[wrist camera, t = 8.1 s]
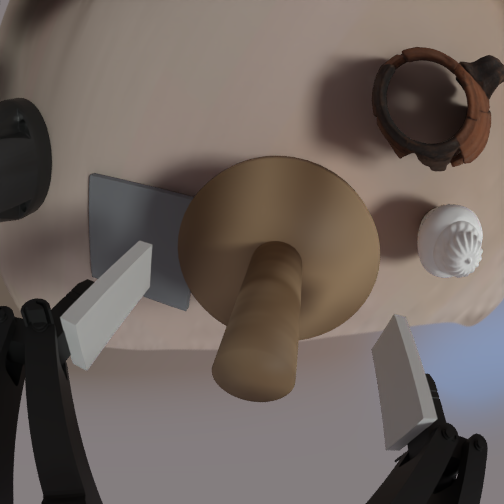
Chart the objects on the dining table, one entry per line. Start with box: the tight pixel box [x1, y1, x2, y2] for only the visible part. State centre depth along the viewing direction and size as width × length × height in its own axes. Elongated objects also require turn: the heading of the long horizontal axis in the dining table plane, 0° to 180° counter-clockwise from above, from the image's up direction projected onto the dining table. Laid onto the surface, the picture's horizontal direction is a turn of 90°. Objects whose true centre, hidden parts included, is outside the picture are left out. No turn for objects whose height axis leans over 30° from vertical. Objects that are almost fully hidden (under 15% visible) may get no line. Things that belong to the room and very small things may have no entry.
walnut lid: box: [178, 156, 380, 402], centre depth 15 cm, size 13×13×10 cm
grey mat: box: [89, 173, 194, 311], centre depth 28 cm, size 12×12×1 cm
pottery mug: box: [372, 47, 504, 171], centre depth 16 cm, size 12×10×8 cm
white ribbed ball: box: [417, 204, 483, 278], centre depth 19 cm, size 6×6×7 cm
